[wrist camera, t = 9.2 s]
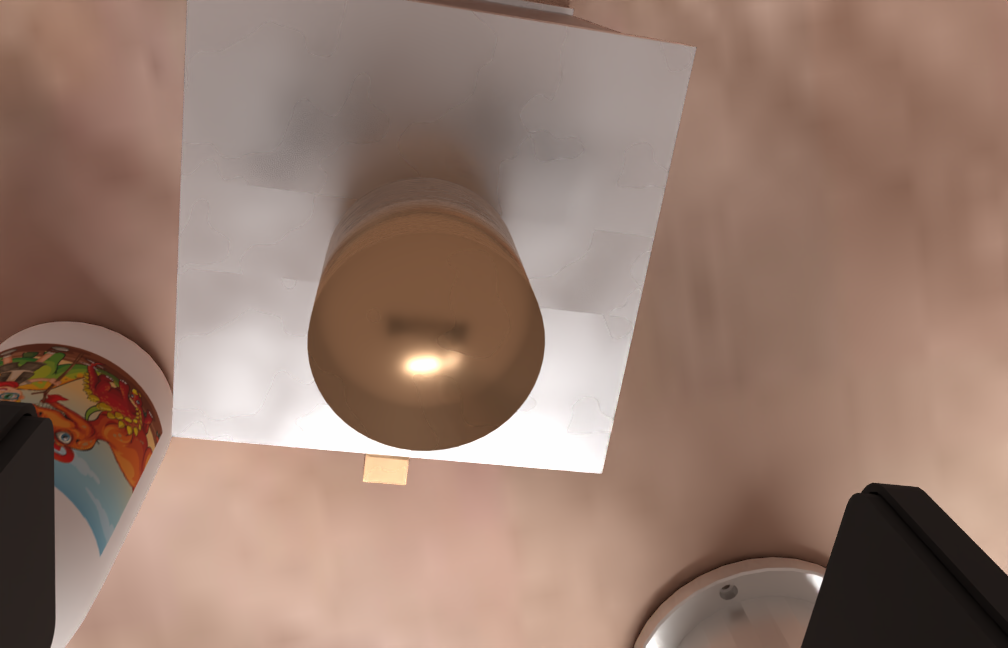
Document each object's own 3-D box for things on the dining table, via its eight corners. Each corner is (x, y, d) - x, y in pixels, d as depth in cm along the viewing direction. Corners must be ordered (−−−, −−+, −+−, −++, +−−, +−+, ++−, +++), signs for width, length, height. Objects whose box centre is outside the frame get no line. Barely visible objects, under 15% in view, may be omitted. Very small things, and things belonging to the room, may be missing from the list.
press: (569, 7, 34) (696, 47, 20) (513, 330, 39) (582, 560, 24) (283, -40, 33) (188, -35, 18) (259, 303, 37) (168, 530, 23)
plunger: (540, 36, 33) (715, 139, 15) (504, 253, 36) (613, 565, 18) (308, 0, 32) (184, 62, 14) (290, 227, 35) (168, 534, 16)
